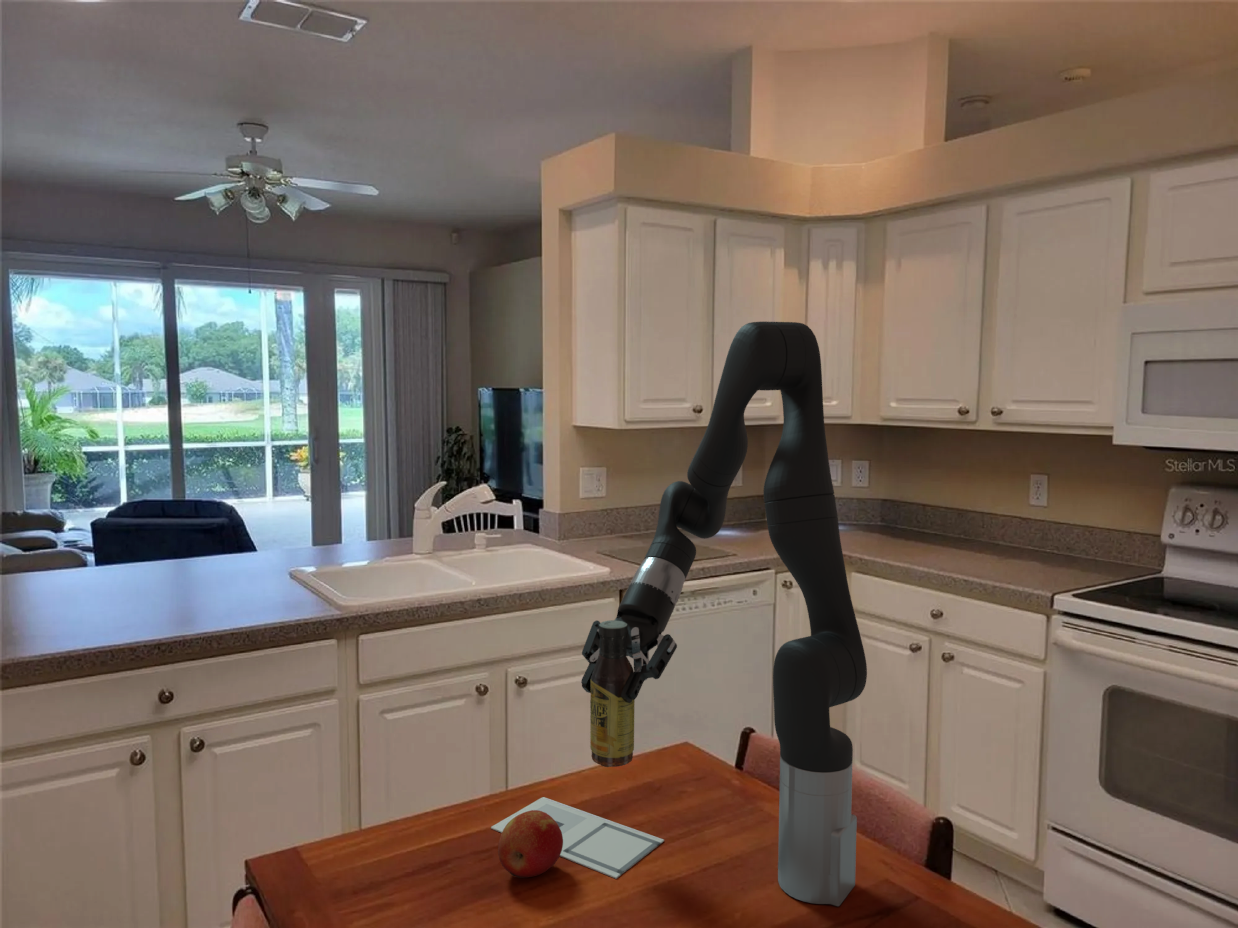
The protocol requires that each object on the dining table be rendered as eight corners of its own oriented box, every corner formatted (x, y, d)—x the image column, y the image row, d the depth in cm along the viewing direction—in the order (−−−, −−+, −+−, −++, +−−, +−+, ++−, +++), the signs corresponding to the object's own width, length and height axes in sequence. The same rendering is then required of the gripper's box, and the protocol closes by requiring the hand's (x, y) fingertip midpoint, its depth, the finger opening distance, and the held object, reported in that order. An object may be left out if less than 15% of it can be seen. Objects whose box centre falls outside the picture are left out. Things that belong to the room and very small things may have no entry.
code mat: (664, 840, 122) (664, 839, 122) (616, 878, 112) (616, 877, 112) (543, 797, 135) (543, 796, 135) (490, 828, 125) (490, 826, 125)
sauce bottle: (584, 754, 121) (582, 619, 120) (625, 748, 123) (623, 615, 122) (599, 773, 115) (598, 630, 114) (642, 766, 117) (640, 626, 116)
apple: (571, 868, 115) (571, 811, 114) (532, 897, 108) (531, 837, 107) (527, 850, 119) (526, 795, 119) (486, 877, 112) (485, 820, 112)
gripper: (603, 574, 128) (553, 671, 119) (684, 587, 119) (637, 692, 111) (623, 602, 132) (576, 697, 124) (703, 616, 124) (659, 719, 115)
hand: (605, 694), depth 117 cm, fingers closed on sauce bottle, 6 cm apart
